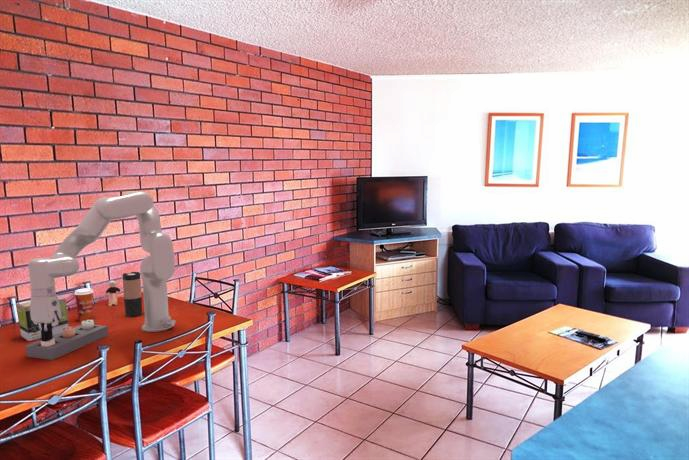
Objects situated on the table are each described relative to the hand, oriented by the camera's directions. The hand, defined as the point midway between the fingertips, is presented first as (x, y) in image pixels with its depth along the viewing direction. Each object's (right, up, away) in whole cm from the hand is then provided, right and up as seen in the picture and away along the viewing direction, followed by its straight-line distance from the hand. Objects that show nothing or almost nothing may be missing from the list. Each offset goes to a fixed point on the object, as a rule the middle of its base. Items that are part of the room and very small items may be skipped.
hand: (47, 340), depth 170 cm
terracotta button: (+3, -2, +9) cm, 10 cm away
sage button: (+5, 0, +17) cm, 18 cm away
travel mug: (+10, 0, +48) cm, 49 cm away
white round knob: (0, -4, +1) cm, 4 cm away
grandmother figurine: (-8, +2, +64) cm, 65 cm away
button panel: (+3, -4, +9) cm, 11 cm away
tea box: (-15, -3, +22) cm, 27 cm away
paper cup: (-9, -1, +41) cm, 42 cm away
